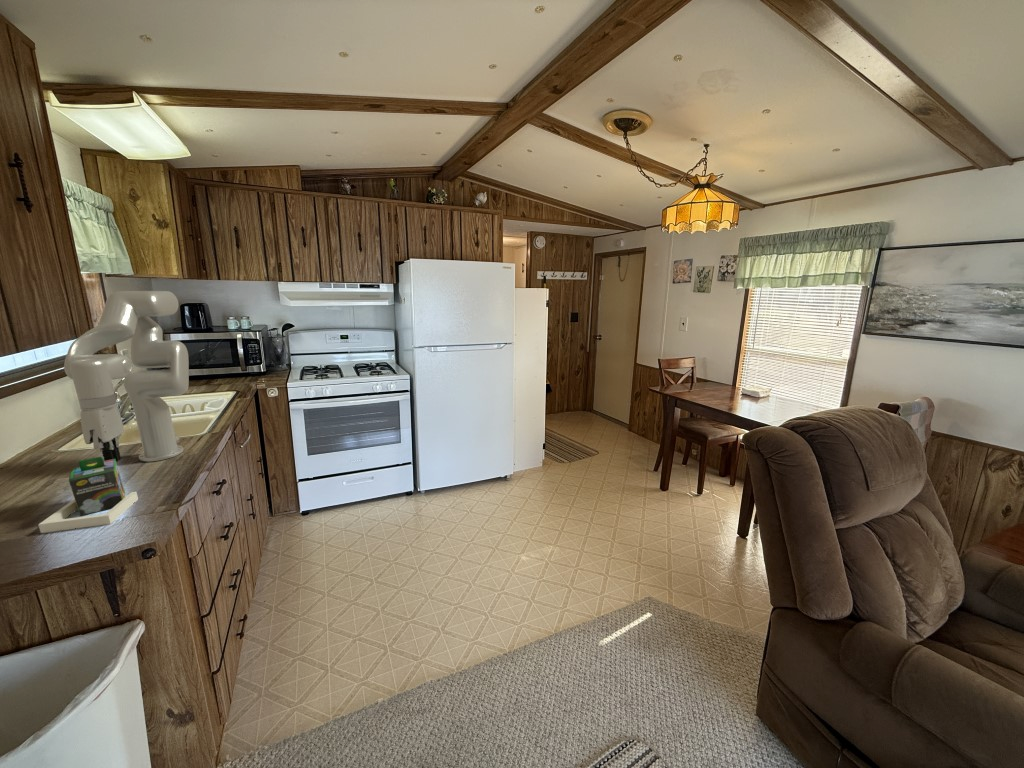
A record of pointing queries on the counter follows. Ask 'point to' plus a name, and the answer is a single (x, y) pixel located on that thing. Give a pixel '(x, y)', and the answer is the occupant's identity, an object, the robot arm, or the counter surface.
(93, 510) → the chalk box
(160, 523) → the counter surface
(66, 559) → the counter surface
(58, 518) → the cream u-shaped bracket
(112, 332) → the robot arm
